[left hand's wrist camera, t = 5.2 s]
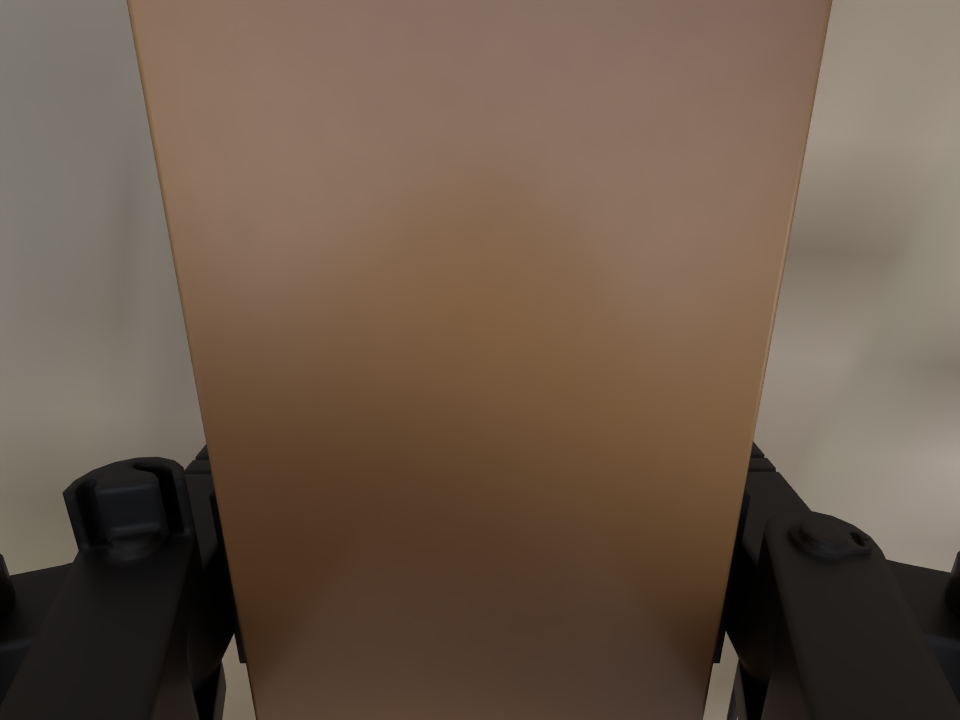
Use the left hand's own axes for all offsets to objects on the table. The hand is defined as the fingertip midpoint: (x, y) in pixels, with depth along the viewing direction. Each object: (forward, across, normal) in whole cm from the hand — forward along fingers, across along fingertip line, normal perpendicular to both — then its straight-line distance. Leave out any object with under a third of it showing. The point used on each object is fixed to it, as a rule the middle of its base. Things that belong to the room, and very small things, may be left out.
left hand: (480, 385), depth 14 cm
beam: (+1, 0, -35) cm, 35 cm away
